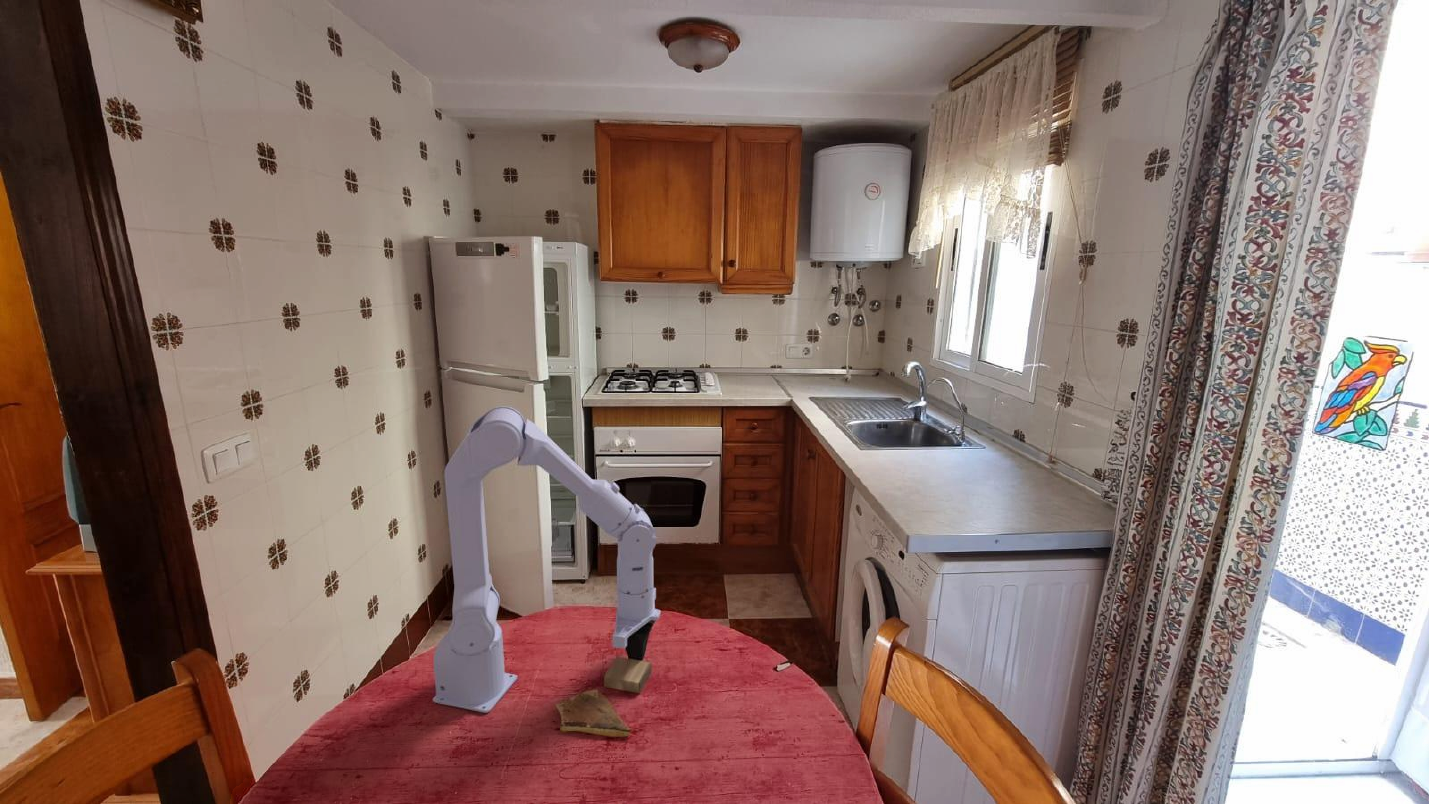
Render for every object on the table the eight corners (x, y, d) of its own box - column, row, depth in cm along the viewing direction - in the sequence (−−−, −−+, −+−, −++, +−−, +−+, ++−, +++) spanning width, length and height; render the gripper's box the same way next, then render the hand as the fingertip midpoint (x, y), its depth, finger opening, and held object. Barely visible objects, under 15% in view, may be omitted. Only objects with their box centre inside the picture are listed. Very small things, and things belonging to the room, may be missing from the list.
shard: (631, 740, 79) (631, 729, 79) (579, 766, 75) (579, 755, 74) (598, 695, 88) (598, 684, 87) (549, 716, 83) (549, 705, 83)
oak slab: (603, 676, 89) (640, 683, 87) (616, 656, 93) (651, 662, 92) (604, 686, 89) (640, 693, 88) (616, 666, 94) (651, 672, 92)
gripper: (643, 613, 83) (644, 695, 86) (672, 566, 97) (672, 638, 100) (598, 607, 85) (600, 687, 87) (633, 561, 98) (634, 631, 101)
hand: (636, 660), depth 94 cm, fingers closed
